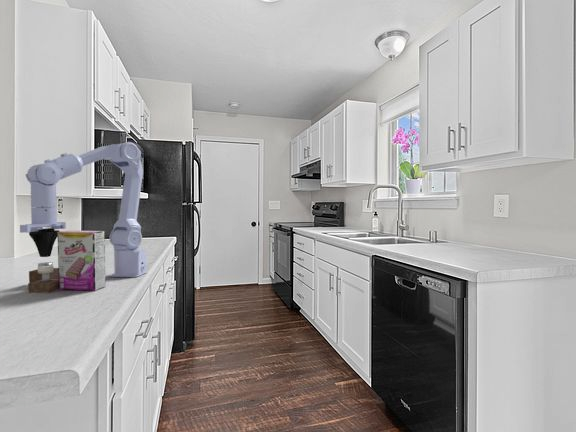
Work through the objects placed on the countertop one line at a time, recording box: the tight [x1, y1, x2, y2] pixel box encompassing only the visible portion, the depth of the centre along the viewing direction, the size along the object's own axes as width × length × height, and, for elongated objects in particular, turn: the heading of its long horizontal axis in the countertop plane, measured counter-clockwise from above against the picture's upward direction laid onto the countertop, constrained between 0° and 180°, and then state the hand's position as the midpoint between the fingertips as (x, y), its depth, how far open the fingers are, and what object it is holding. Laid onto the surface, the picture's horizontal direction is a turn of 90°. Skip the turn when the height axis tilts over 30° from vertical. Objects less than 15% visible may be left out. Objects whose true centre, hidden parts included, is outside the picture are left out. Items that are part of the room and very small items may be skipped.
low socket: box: [27, 279, 59, 294], centre depth 95 cm, size 6×6×2 cm
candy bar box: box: [57, 229, 106, 292], centre depth 97 cm, size 11×5×16 cm, turn 84°
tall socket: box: [28, 267, 59, 283], centre depth 102 cm, size 6×6×4 cm
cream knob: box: [37, 265, 54, 282], centre depth 95 cm, size 4×4×4 cm
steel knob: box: [37, 261, 54, 268], centre depth 102 cm, size 4×4×6 cm
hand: (45, 256), depth 95 cm, fingers closed
